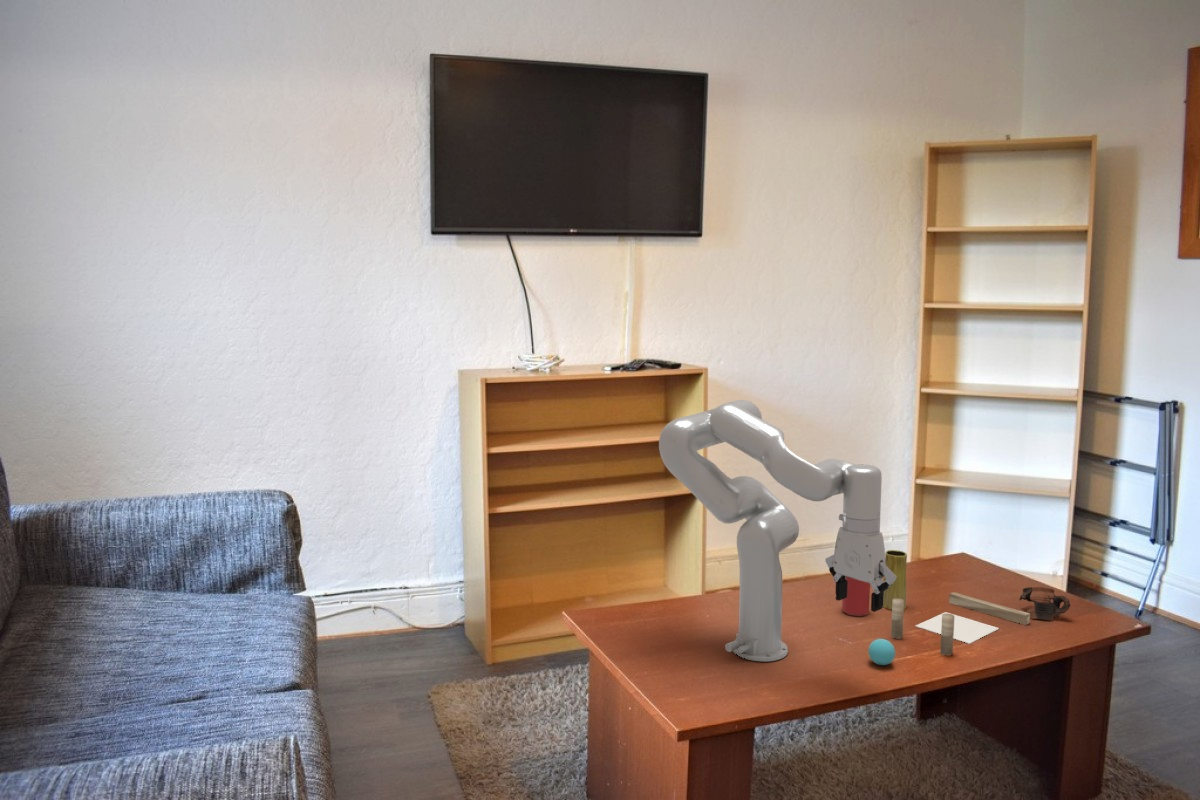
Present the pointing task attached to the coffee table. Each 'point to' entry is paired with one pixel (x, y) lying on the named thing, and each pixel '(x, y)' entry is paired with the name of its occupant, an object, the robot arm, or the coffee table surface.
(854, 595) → the beer can
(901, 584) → the vase
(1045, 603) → the pottery mug
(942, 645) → the post right
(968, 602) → the rail
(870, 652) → the ball
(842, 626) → the coffee table surface
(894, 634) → the post left
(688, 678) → the coffee table surface
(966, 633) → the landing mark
